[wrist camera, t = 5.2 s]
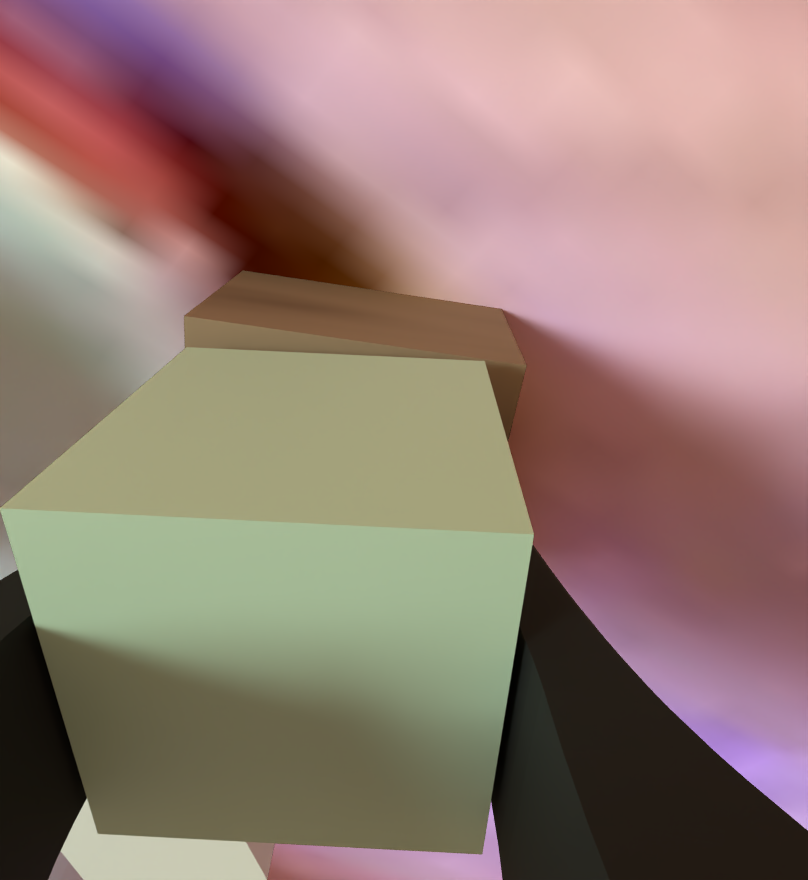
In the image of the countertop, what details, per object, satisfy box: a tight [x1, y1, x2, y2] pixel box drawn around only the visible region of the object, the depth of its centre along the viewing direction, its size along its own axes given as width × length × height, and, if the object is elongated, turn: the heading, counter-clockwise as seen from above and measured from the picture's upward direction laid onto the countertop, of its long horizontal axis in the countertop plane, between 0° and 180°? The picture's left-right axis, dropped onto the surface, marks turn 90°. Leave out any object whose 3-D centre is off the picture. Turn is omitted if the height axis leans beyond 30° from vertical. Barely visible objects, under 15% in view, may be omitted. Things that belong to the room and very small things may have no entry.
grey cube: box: [61, 799, 275, 880], centre depth 18 cm, size 5×5×5 cm
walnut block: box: [184, 271, 527, 441], centre depth 14 cm, size 6×6×4 cm
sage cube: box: [0, 347, 534, 854], centre depth 9 cm, size 5×5×5 cm
